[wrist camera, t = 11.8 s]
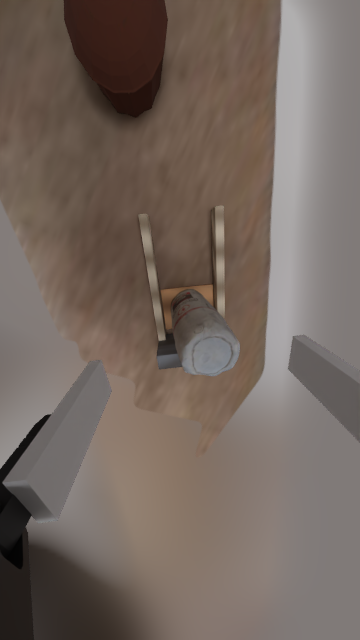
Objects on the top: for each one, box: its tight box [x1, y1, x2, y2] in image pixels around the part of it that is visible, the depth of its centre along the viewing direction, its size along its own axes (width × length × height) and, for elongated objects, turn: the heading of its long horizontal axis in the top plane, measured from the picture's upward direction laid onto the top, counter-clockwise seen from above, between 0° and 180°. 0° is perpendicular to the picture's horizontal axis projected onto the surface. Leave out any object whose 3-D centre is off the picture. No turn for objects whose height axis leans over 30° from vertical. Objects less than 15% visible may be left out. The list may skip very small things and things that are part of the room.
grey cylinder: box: [171, 289, 240, 376], centre depth 29 cm, size 8×8×20 cm
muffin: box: [64, 0, 168, 117], centre depth 21 cm, size 12×11×10 cm
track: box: [138, 206, 225, 369], centre depth 33 cm, size 27×14×9 cm, turn 6°
